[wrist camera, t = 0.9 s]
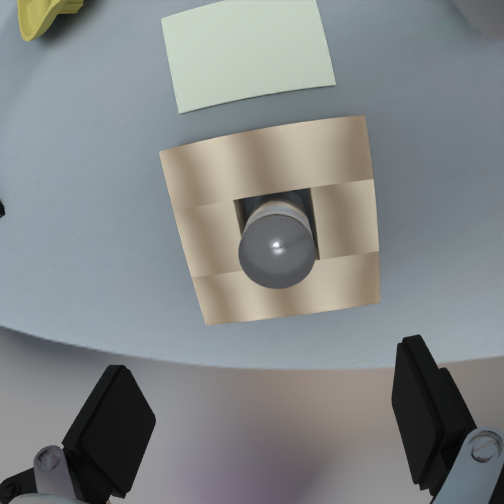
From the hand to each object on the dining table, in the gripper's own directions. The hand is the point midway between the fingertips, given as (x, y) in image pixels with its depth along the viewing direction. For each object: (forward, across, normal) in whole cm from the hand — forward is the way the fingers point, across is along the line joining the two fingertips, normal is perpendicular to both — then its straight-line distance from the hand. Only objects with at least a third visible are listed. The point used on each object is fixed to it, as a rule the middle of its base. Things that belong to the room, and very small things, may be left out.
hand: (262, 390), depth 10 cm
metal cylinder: (+22, 0, 0) cm, 22 cm away
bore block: (+22, 0, 0) cm, 22 cm away
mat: (+22, 0, -16) cm, 27 cm away
